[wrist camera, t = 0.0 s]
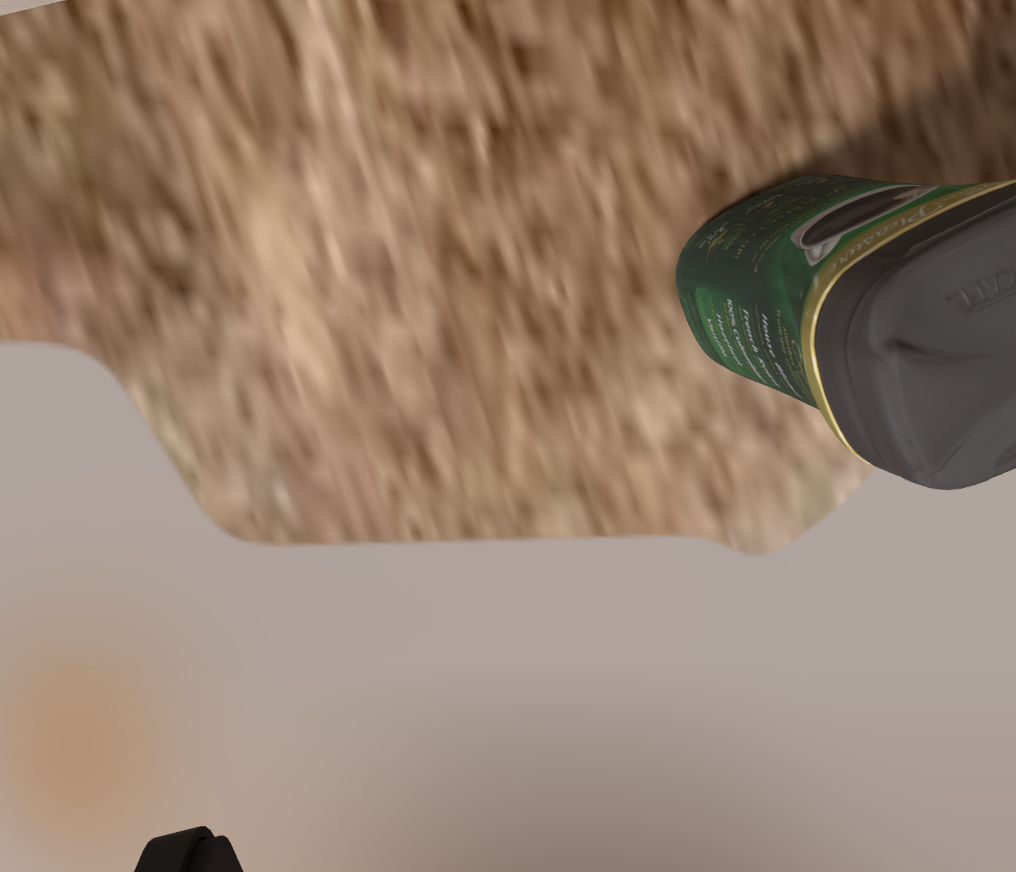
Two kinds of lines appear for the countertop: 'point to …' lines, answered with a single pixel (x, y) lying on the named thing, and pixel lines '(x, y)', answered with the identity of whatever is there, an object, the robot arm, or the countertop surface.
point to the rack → (21, 5)
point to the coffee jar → (872, 315)
